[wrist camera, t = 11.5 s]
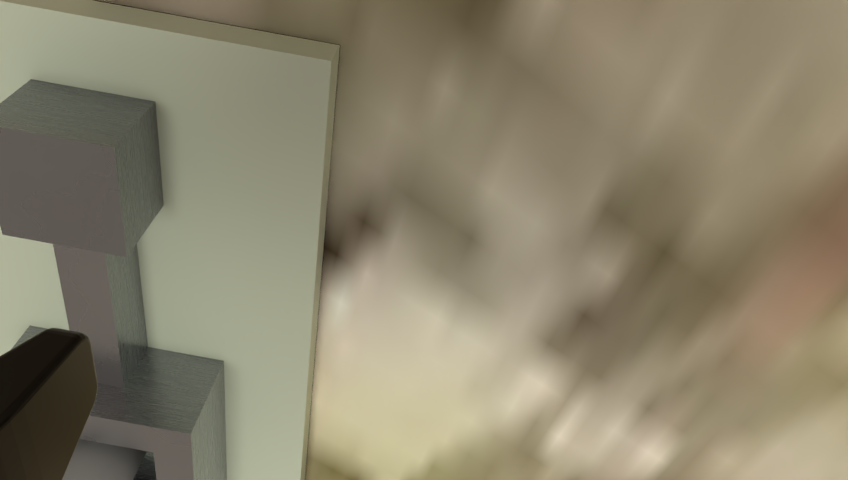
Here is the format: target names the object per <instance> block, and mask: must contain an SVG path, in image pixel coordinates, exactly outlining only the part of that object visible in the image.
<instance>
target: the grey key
mask: <svg viewBox="0 0 848 480" xmlns="http://www.w3.org/2000/svg"><path fill="white" fill-rule="evenodd" d="M163 206H164V202H163V189H162V177H161V164H160V152H159V139H158V127H157V114H156V101H150V100H145V99H139V98H133V97H128V96H122V95H117V94H111V93H106V92H100V91H95V90H89V89H84V88H78V87H73V86H67V85H61V84H56V83H50V82H45V81H39V80H34V79H31V80H29V81H28V82H27V83H25V84H24V85H23V86H22V87H20V88H19V89H18V90H17V91H15V92H14V93H13V94H11V95H10V96H9V97H8V98H6V99H5V100H4V101H2V102H1V103H0V227H1V231H2V235H7V236H12V237H18V238H23V239H29V240H35V241H40V242H46V243H51V244H53V248H54V253H55V258H56V263H57V269H58V274H59V279H60V284H61V289H62V294H63V299H64V305H65V310H66V315H67V320H68V325H69V330H70V331H76V332H81V333H84V334H86V335H87V336H88V338H89V339H90V342H91V346H92V352H93V358H94V364H95V370H96V376H97V383H98V388H97V395H96V399H95V403H94V405H93V408H92V410H91V413H90V415H89V417H88V420H87V422H86V425H85V427H84V429H83V432H82V434H81V436H80V439H83V440H88V441H94V442H99V443H105V444H110V445H116V446H121V447H127V448H132V449H137V450H143V451H147V453H146V455H145V457H144V459H143V461H142V463H141V465H140V467H139V469H138V471H137V473H136V475H135V477H134V479H133V480H227V461H226V421H225V382H224V361H223V360H217V359H212V358H206V357H201V356H195V355H190V354H184V353H179V352H173V351H168V350H162V349H157V348H151V347H148V341H147V332H146V323H145V314H144V305H143V296H142V287H141V278H140V268H139V259H138V250H137V242H138V241H139V239H140V238H141V237H142V235H143V234H144V232H145V231H146V230H147V228H148V227H149V225H150V224H151V222H152V221H153V220H154V218H155V217H156V215H157V214H158V213H159V211H160V210H161V208H162V207H163ZM46 329H47V328H42V327H36V326H31V325H30V326H29V327H28V328H27V330H26V331H25V332H24V334H23V335H22V336H21V337H20V339H19V340H18V341H17V342H16V344H15V345H14V346H13V348H14V347H16V346H18V345H20V344H21V343H23V342H25V341H26V340H28V339H30V338H31V337H33V336H35V335H36V334H38V333H40V332H42V331H44V330H46ZM13 348H12V349H13Z"/></svg>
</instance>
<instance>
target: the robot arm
mask: <svg viewBox="0 0 848 480" xmlns="http://www.w3.org/2000/svg"><path fill="white" fill-rule="evenodd" d="M97 388H98V383H97V376H96V370H95V364H94V358H93V352H92V346H91V342H90V339H89V338H88V336H87V335H86V334H84V333H81V332H76V331H70V330H65V329H59V328H49V329H46V330H44V331H42V332H40V333H38V334H36V335H35V336H33V337H31V338H30V339H28V340H26V341H25V342H23V343H21V344H20V345H18V346H16V347H14V348H13V349H11V350H9V351H8V352H6V353H4V354H3V355H1V356H0V480H62V479H63V477H64V475H65V472H66V470H67V467H68V465H69V463H70V460H71V458H72V455H73V453H74V451H75V448H76V446H77V444H78V441H79V439H80V436H81V434H82V432H83V429H84V427H85V425H86V422H87V420H88V417H89V415H90V413H91V410H92V408H93V405H94V403H95V399H96V395H97Z"/></svg>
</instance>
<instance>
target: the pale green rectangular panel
mask: <svg viewBox="0 0 848 480" xmlns="http://www.w3.org/2000/svg"><path fill="white" fill-rule="evenodd" d="M339 50H340V45H335V44H330V43H324V42H319V41H313V40H308V39H302V38H297V37H291V36H286V35H280V34H275V33H269V32H264V31H258V30H253V29H247V28H242V27H236V26H231V25H225V24H220V23H214V22H209V21H203V20H198V19H192V18H187V17H181V16H176V15H170V14H165V13H159V12H154V11H148V10H143V9H137V8H132V7H126V6H121V5H115V4H110V3H104V2H99V1H93V0H0V103H1V102H2V101H4V100H5V99H6V98H8V97H9V96H10V95H11V94H13V93H14V92H15V91H17V90H18V89H19V88H20V87H22V86H23V85H24V84H25V83H27V82H28V81H29V80H31V79H34V80H39V81H45V82H50V83H56V84H61V85H67V86H73V87H78V88H84V89H89V90H95V91H100V92H106V93H111V94H117V95H122V96H128V97H133V98H139V99H145V100H150V101H156V114H157V127H158V139H159V152H160V164H161V177H162V189H163V202H164V206H163V207H162V208H161V210H160V211H159V213H158V214H157V215H156V217H155V218H154V220H153V221H152V222H151V224H150V225H149V227H148V228H147V230H146V231H145V232H144V234H143V235H142V237H141V238H140V239H139V241H138V242H137V250H138V259H139V268H140V278H141V287H142V296H143V305H144V314H145V323H146V332H147V341H148V347H151V348H157V349H162V350H168V351H173V352H179V353H184V354H190V355H195V356H201V357H206V358H212V359H217V360H223V361H224V382H225V421H226V461H227V480H305V473H306V461H307V448H308V436H309V423H310V411H311V398H312V386H313V373H314V361H315V349H316V336H317V324H318V311H319V299H320V286H321V274H322V262H323V249H324V237H325V224H326V212H327V199H328V187H329V175H330V162H331V150H332V137H333V125H334V112H335V100H336V88H337V75H338V63H339ZM30 325H31V326H36V327H42V328H47V329H49V328H59V329H65V330H69V325H68V320H67V315H66V310H65V305H64V299H63V294H62V289H61V284H60V279H59V274H58V269H57V263H56V258H55V253H54V248H53V244H51V243H46V242H40V241H35V240H29V239H23V238H18V237H12V236H7V235H2V231H1V227H0V356H1V355H3V354H4V353H6V352H8V351H9V350H11V349H12V348H13V346H14V345H15V344H16V342H17V341H18V340H19V339H20V337H21V336H22V335H23V334H24V332H25V331H26V330H27V328H28V327H29V326H30ZM146 453H147V451H143V450H137V449H132V448H127V447H121V446H116V445H110V444H105V443H99V442H94V441H88V440H83V439H79V441H78V444H77V446H76V448H75V451H74V453H73V455H72V458H71V460H70V463H69V465H68V467H67V470H66V472H65V475H64V477H63V479H62V480H133V479H134V477H135V475H136V473H137V471H138V469H139V467H140V465H141V463H142V461H143V459H144V457H145V455H146Z"/></svg>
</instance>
